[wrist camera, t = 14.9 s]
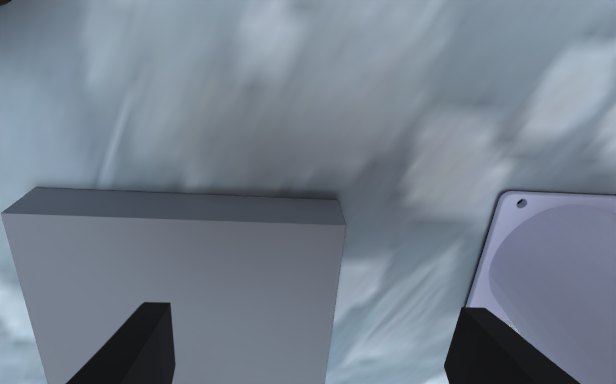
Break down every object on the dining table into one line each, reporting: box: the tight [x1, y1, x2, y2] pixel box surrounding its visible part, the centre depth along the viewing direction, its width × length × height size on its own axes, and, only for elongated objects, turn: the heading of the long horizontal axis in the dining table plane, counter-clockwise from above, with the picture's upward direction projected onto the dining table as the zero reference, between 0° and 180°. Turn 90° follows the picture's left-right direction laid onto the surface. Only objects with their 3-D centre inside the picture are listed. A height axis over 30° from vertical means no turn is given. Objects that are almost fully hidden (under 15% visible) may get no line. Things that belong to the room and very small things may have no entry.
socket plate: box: [1, 188, 346, 384], centre depth 22 cm, size 14×22×2 cm, turn 176°
